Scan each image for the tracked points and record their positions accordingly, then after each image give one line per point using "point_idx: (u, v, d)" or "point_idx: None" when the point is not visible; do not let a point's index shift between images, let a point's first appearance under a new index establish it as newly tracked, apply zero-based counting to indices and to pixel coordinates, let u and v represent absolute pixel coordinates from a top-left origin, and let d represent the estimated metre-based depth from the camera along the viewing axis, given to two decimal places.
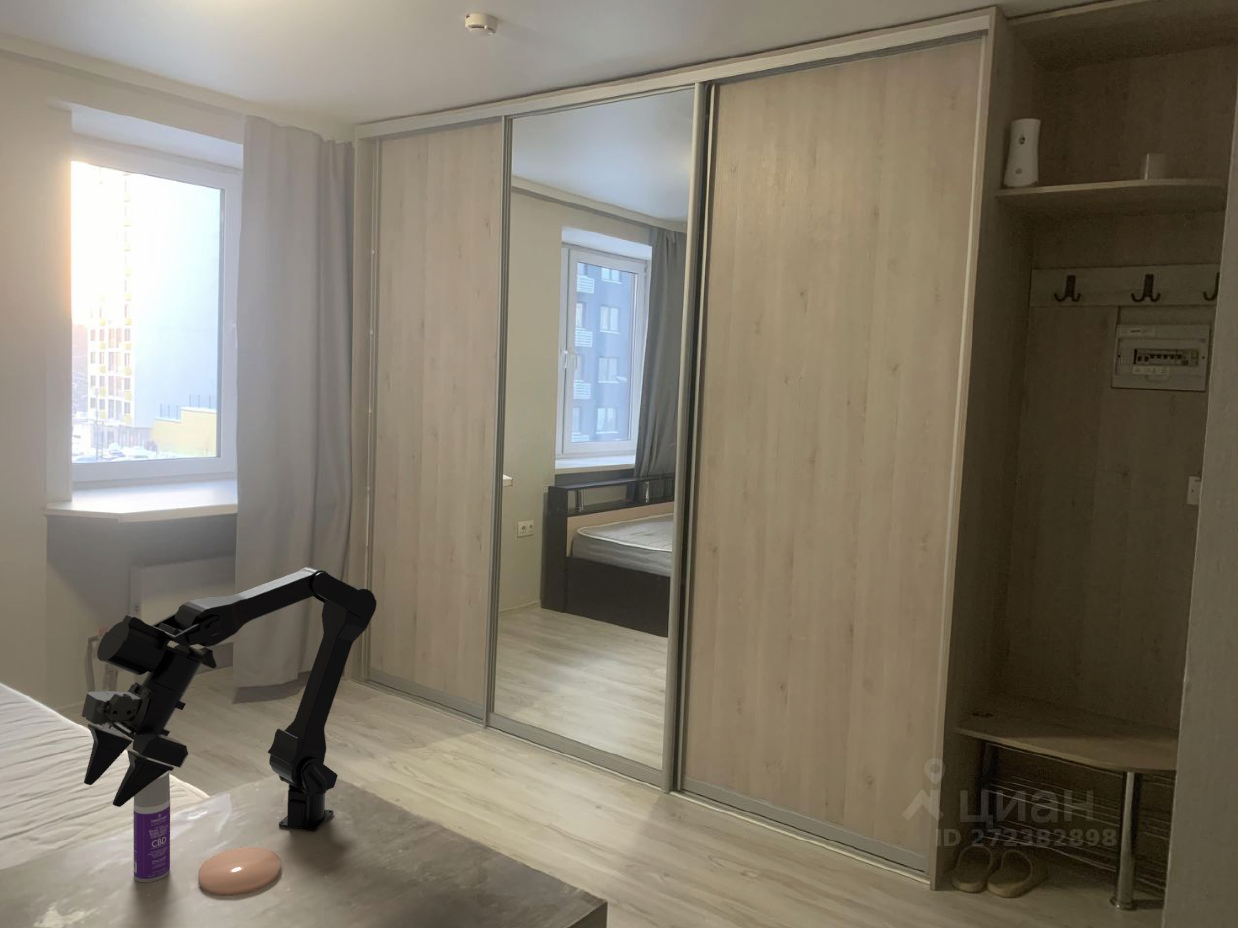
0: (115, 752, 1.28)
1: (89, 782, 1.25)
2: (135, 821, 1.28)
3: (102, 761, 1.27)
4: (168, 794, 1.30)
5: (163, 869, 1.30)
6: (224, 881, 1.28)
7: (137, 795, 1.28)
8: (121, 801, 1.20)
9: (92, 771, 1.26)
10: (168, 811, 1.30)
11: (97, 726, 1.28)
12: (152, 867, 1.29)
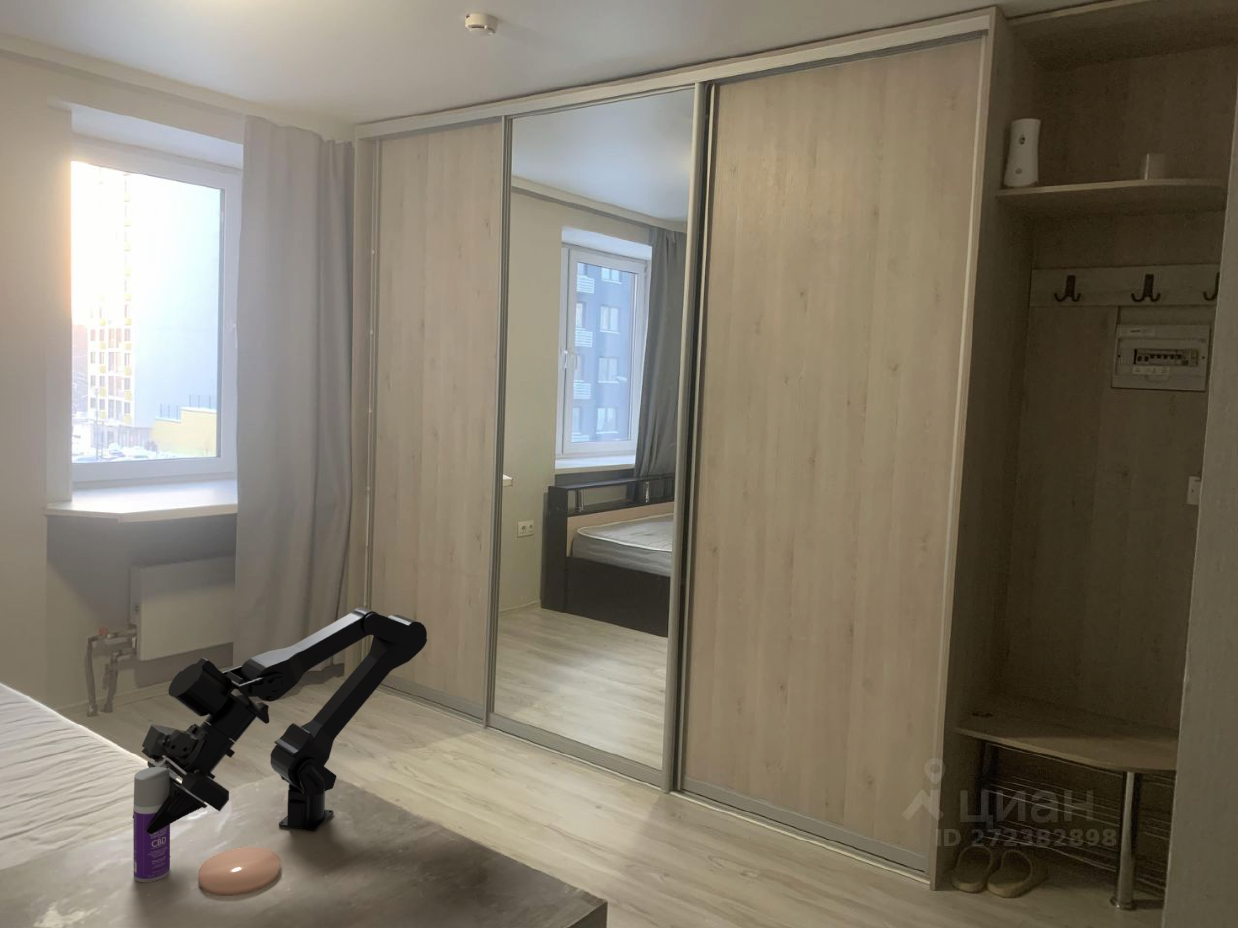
0: None
1: None
2: (135, 821, 1.28)
3: None
4: (168, 794, 1.30)
5: (163, 869, 1.30)
6: (224, 881, 1.28)
7: (137, 795, 1.28)
8: (153, 829, 1.28)
9: None
10: None
11: (156, 765, 1.34)
12: (152, 867, 1.29)
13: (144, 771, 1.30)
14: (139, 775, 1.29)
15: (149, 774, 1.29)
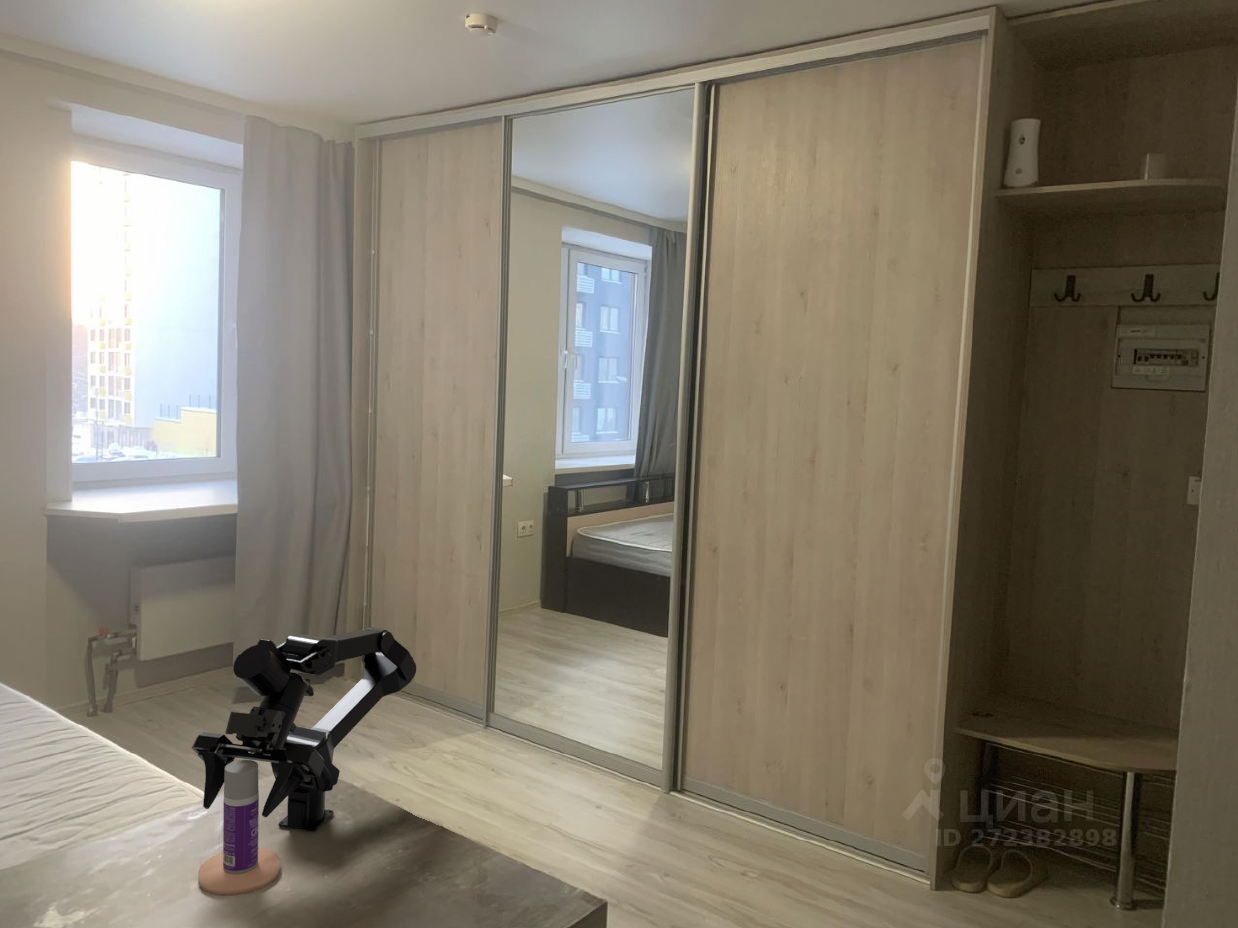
0: (222, 778, 1.34)
1: (207, 806, 1.30)
2: (233, 815, 1.29)
3: (215, 786, 1.33)
4: None
5: (257, 857, 1.32)
6: (224, 881, 1.28)
7: (236, 789, 1.28)
8: (269, 811, 1.29)
9: (210, 795, 1.31)
10: None
11: None
12: (251, 856, 1.30)
13: (231, 766, 1.30)
14: (232, 770, 1.29)
15: (242, 767, 1.30)
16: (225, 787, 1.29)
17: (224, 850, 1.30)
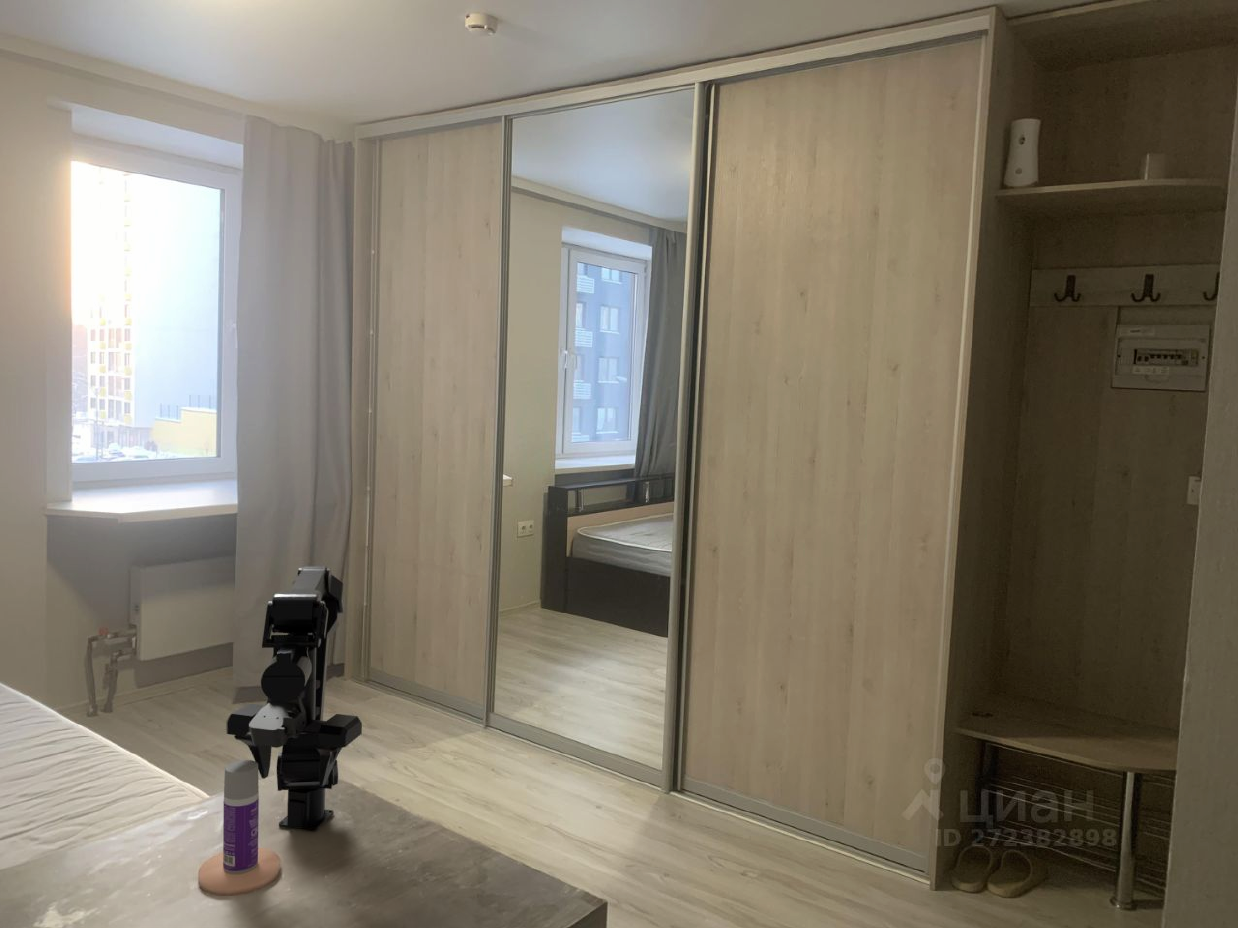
0: None
1: (266, 775, 1.34)
2: (233, 815, 1.29)
3: (265, 755, 1.34)
4: None
5: (257, 857, 1.32)
6: (224, 881, 1.28)
7: (236, 789, 1.28)
8: (325, 780, 1.33)
9: (264, 767, 1.34)
10: None
11: (245, 734, 1.32)
12: (251, 856, 1.30)
13: (231, 766, 1.30)
14: (232, 770, 1.29)
15: (242, 767, 1.30)
16: (225, 787, 1.29)
17: (224, 850, 1.30)
